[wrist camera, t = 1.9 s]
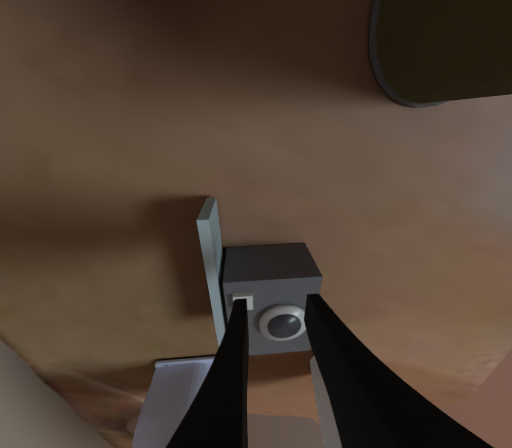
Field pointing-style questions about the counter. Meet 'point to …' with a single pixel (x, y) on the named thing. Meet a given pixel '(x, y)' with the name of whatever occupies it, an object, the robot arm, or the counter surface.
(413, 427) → the robot arm
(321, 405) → the foam cup
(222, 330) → the side door
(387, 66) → the canister
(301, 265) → the camera body
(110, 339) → the counter surface
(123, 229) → the counter surface
